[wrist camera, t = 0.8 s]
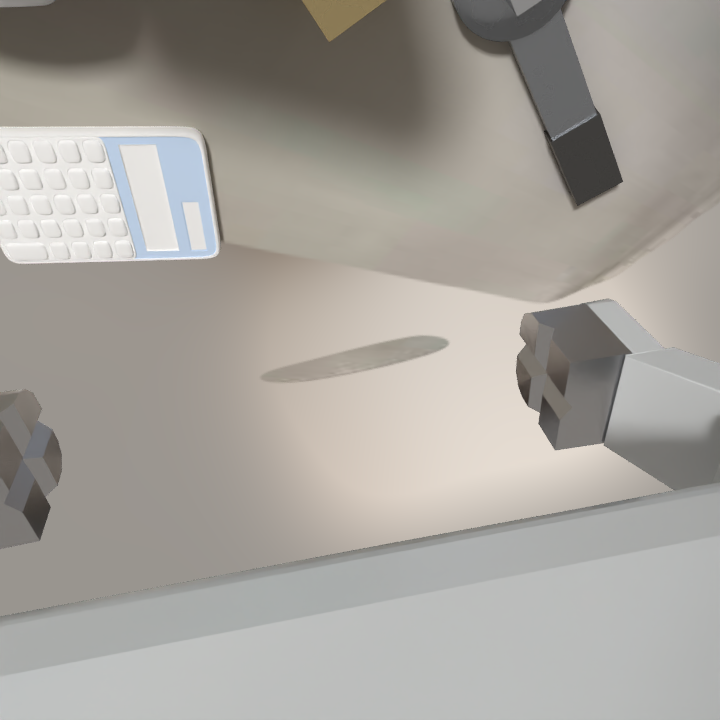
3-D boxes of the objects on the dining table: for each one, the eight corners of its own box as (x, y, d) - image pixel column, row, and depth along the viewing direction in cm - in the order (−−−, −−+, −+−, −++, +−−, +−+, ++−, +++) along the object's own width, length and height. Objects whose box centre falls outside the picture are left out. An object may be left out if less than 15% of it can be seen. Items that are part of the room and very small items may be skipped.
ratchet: (424, -56, 42) (437, -33, 39) (546, -148, 39) (572, -132, 35) (548, 205, 60) (564, 236, 56) (639, 157, 56) (661, 186, 53)
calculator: (-51, 123, 48) (-60, 135, 47) (203, 122, 50) (202, 134, 49) (13, 255, 58) (7, 268, 57) (223, 250, 60) (222, 262, 59)
